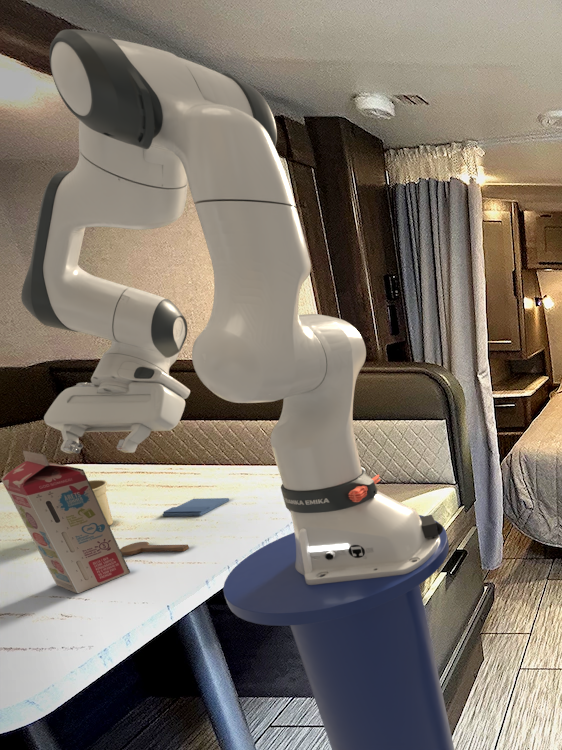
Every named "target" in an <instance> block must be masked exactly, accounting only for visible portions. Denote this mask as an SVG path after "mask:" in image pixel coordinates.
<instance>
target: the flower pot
mask: <svg viewBox="0 0 562 750" xmlns="http://www.w3.org/2000/svg"><path fill="white" fill-rule="evenodd" d="M88 481H89V483H90V485H91V488H92V490H93V492H94V494H95V496H96V499H97V501H98V503H99V505H100V507H101V509H102V512H103V514H104V516H105V518H106V520H107V523H108V525H109V526H112V525H113V523H114V520H113V516H112V513H111V509H110V504H109V500H108V496H107V485H108V481H106V480H104V479H93V480H88Z"/></svg>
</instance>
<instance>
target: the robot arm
mask: <svg viewBox="0 0 562 750" xmlns="http://www.w3.org/2000/svg"><path fill="white" fill-rule="evenodd" d="M48 53H49V65H50V71H51V75H52V79H53V83H54V85H55V88H56V90H57V92H58V94H59V97H60V98H61V100H62V101H63V103H64V105H65V106H66V108H67V109H68V110H69V111H70V112H71V113H72V115H74V116H75V117H76V119H78V149H79V151H78V153H79V154H78V155H79V156H78V159H77V163H76V165H75V167H74V169H72V170H63V171H58V172H56V173H55V174H54V175H53V176H52V177H51V178H50V179H49V181H48V183H47V184H46V186H45V189H44V191H43V194H42V199H41V202H40V207H39V212H38V216H37V222H36V229H35V234H34V240H33V245H32V246H33V247H32V252H31V258H30V263H29V266H28V269H27V272H26V276H25V279H24V281H23V285H22V288H21V295H20V298H21V303H22V305H23V306H24V308H25V309H26V310H27V311H28V312H29V313H30V314H31V315H32V316H33V317H34V318H35V319H36V320H37V321H38V322H40V323H41V324H42V325H44V326H45V327H50V328H55V329H60V330H65V331H69V332H74V333H82V334H85V335H89V336H92V337H97V338H100V339H105V340H109V341H111V346H110V347H109V348H108V350H106V351H105V352H104V353H103V354H102V356H101V358H100V360H99V362H98V364H97V366H96V367H95V370H94V371H93V374H92V376H91V377H90V382H78V383H76V385H73V386H71V387H67V388H65V389H64V390H63V391H61V392H60V393H59V394H58V395H57V396H56V398H55V399H54V400H53V402H52V404H51V405H50V406H49V408H48V409H47V411H46V413H45V414H44V416H43V421H44V423H45V425H47V426H49V427H51V428H53V429H55V430H58V431H60V433H61V436H62V437H61V438H62V440H63V441H62V443H61V445H60V451H61V452H63V453H66V454H67V455H69V454H71V455H72V454H73V455H74V454H80V453H81V450H82V449H83V447H84V444H82V443H80V440H79V439H80V438H82V437H83V436H84V435H85V433H105V432H106V433H107V432H108V433H110V432H111V433H112V432H113V433H115V432H116V433H117V432H118V433H119V432H130V433H129V434H127V436H126V437H125V438H124V439H119V440H118V442H117V445H116V450H117V451H119V452H122V453H125V454H127V453H128V454H130V453H131V454H132V453H135V452H136V450H137V448H138V445H140V444H141V443H142V442H143V441H145V440H146V439H147V438H149V437H150V434H151V432H166V431H167V432H169V431H172V430H173V429H174V428H176V427H177V426H178V425H179V423H180V421H181V419H182V416H183V413H184V411H185V407H186V401H185V399H188V398H189V396H190V394H191V390H190V389H189V388H188V387H187V386H186V385H184V384H183V383H181V382H180V381H178V380H177V379H176V378H174V377H172V376H171V375H170V368H171V367H172V366H173V364H174V363H175V362H176V361H177V359H178V357H179V355H180V352H181V351H182V348H183V347H184V344H185V342H186V339H187V336H188V323H187V320H186V318H185V316H184V315H183V312H181V311H180V309H179V308H178V307H177V305H176V304H175V303H174V302H172V300H171V299H169V298H165V297H163V296H161V295H158V294H154V293H153V292H152V293H151V292H148V291H146V290H144V289H143V290H142V289H140V288H136V287H133V286H129V285H126V284H122V283H118V282H116V281H112V280H109V279H105V278H103V277H99V276H96V275H94V274H91V273H89V272H87V271H86V270H84V269H83V268H81V266H80V265H79V260H80V259H79V258H80V254H81V251H82V245H83V240H84V235H85V231H86V228H115V229H125V230H134V231H135V230H136V231H143V230H146V231H147V230H154V229H160V228H164V227H167V226H169V225H172V224H173V223H175V222H177V220H179V219H180V218H181V217H182V215H183V214H184V211H185V207H186V203H187V199H188V198H187V197H188V187H189V191H190V194H191V198H192V202H193V204H194V207H195V210H196V213H197V217H198V221H199V223H200V226H201V227H200V228H201V230H202V233H203V236H204V240H205V243H206V248H207V251H208V253H209V257H210V261H211V265H212V271H213V283H214V286H213V287H214V289H213V290H214V291H213V303H212V309H211V313H210V316H209V318H208V321H207V323H206V325H205V327H204V328H203V330H202V331H201V332H200V333H199V334H198V335H197V337H196V338H195V340H194V342H193V345H192V350H191V361H192V365H193V368H194V371H195V374H196V375H197V377H198V378H199V380H200V381H201V383H202V384H203V385H204V386H205V387H206V388H207V389H208V390H209V391H210V392H212V393H213V394H214V395H215V396H217V397H218V398H221V399H222V400H225V401H228V402H231V403H237V404H257V403H272V402H276V401H280V400H282V401H283V403H282V409H281V413H280V417H279V419H278V421H277V423H276V424H275V425H274V427H273V429H272V431H271V433H270V438H269V439H270V440H269V441H270V443H269V444H270V447H271V450H272V453H273V457H274V460H275V463H276V467H277V470H278V473H279V477H280V480H281V485H280V491H281V494H282V499H283V502H284V505H285V508H286V509H287V510H288V511H289V513H290V517H291V521H292V526H293V531H294V532H293V533H295V541H296V563H295V568H296V570H297V571H298V572H299V573H301V574H302V575H304V576H305V582H306V584H308V585H317V584H325V583H334V582H343V581H352V580H361V579H370V578H378V577H387V576H396V575H403V574H407V573H409V572H411V571H413V570H415V569H417V568H418V567H420V566H421V565H422V564H424V563H425V562H426V561H427V560H428V559H429V558H430V557H431V556H432V555H433V553H434V552H435V551H436V549H437V548H438V546H439V543H440V536H439V535H440V534H441V533H442V531H443V527H444V526H443V524H441V523H440V522H439V523H437V522H438V521H437V522H435V521H436V520H435V519H434V516H433V515H432V514H428V515H422V516H423V517H419V515H420V514H419V513H418V512H417V511H416V509H414V508H413V507H410V506H408V505H406V504H403V503H402V502H400V501H399V500H396V499H395V498H392V497H390V496H388V495H386V494H384V493H383V492H381V491H380V490H378V487H377V486H376V485H377V484H378V483H379V482H380V481H381V480H382V479H381V478H380V474H376V475H375V476H374V477H370V476H369V474H368V473H367V472H366V471H365V469H363V467H362V464H361V460H360V454H359V450H358V446H357V441H356V437H355V431H354V420H353V418H354V417H353V414H354V413H353V412H354V399H355V388H356V383H357V379H358V376H359V374H360V371H361V369H362V368H363V366H364V364H365V362H366V357H367V348H366V344H365V341H364V339H363V337H362V335H361V334H360V331H358V330H357V328H356V327H355V326H354V325H352V324H351V323H350V322H348V321H346V320H344V319H342V318H338V317H334V316H330V315H324V314H320V313H319V314H318V313H308V314H300V313H299V298H300V292H301V289H302V286H303V283H304V282H305V281H306V280H307V279H308V277H309V276H310V274H311V271H312V263H311V262H312V261H311V257H310V254H309V250H308V246H307V244H306V239H305V235H304V232H303V227H302V224H301V221H300V217H299V213H298V208H297V205H296V202H295V198H294V193H293V191H292V188H291V184H290V182H289V178H288V176H287V173H286V171H285V167H284V166H283V163H282V160H281V158H280V155H279V154H278V151H277V149H276V145H277V141H278V132H277V131H278V129H277V125H276V120H275V118H274V114H273V112H272V110H271V107H270V106H269V104H268V102H267V100H266V98H265V97H264V96H263V95H262V93H260V92H259V91H258V89H256V88H255V87H254V86H252V85H250V84H248V83H247V82H245V81H243V80H242V79H239V78H237V77H235V76H233V75H231V74H229V73H225V72H218V71H216V70H214V69H211V68H208V67H206V66H204V65H201V64H199V63H197V62H194V61H191V60H188V59H186V58H183V57H180V56H177V55H175V54H174V53H173V52H169V51H166V50H163V49H159V48H156V47H152V46H149V45H145V44H141V43H136V42H132V41H127V40H123V39H117V38H111V37H110V36H108V35H107V34H106V33H103V32H98V31H93V30H92V31H91V30H84V29H75V28H74V29H63V30H60V31H59V32H57V34H56V35H55V37H54V39H52V41H51V43H50V46H49V52H48Z"/></svg>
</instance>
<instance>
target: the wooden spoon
mask: <svg viewBox="0 0 562 750" xmlns="http://www.w3.org/2000/svg"><path fill="white" fill-rule="evenodd" d="M119 549H120V551H121V553H122V555H123V557H128V556H129V557H130V556H135V555H138V554H141V553H155V552H156V553H157V552H158V553H159V552H164V553H165V552H166V553H167V552H186V551H187V550H189V549H190V546H189V544H150V543H149V542H148V541H137V542H132V543H130V544H127V545H125V546H122V547H121V548H119Z"/></svg>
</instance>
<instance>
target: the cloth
mask: <svg viewBox="0 0 562 750" xmlns="http://www.w3.org/2000/svg"><path fill="white" fill-rule="evenodd" d="M229 501H230V498H229V497H219V498H218V497H216V498H214V497H211V498H209V497H208V498H192V499H190V500H188V501H186V502H184V503H182V504H180V505H178V506H173V507H171V508H169V509H166V510H164V511H163V513H162V517H202V516H203V515H205V514H208V513H209V512H211V511H212V510H215V509H217V508H218V507H220V506H222V505H224V504H226V503H227V502H229Z"/></svg>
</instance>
